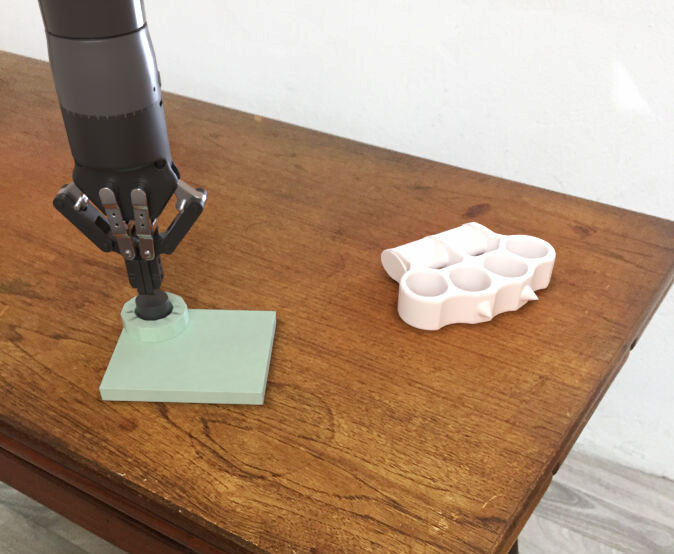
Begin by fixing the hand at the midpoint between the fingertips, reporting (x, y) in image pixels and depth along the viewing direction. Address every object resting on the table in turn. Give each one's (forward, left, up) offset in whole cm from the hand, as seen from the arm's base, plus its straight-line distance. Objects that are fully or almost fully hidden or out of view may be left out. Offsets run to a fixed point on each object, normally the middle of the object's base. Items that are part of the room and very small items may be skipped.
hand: (149, 289), depth 68 cm
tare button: (0, 0, -2) cm, 2 cm away
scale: (+4, -4, -5) cm, 7 cm away
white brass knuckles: (+30, +9, -5) cm, 32 cm away
